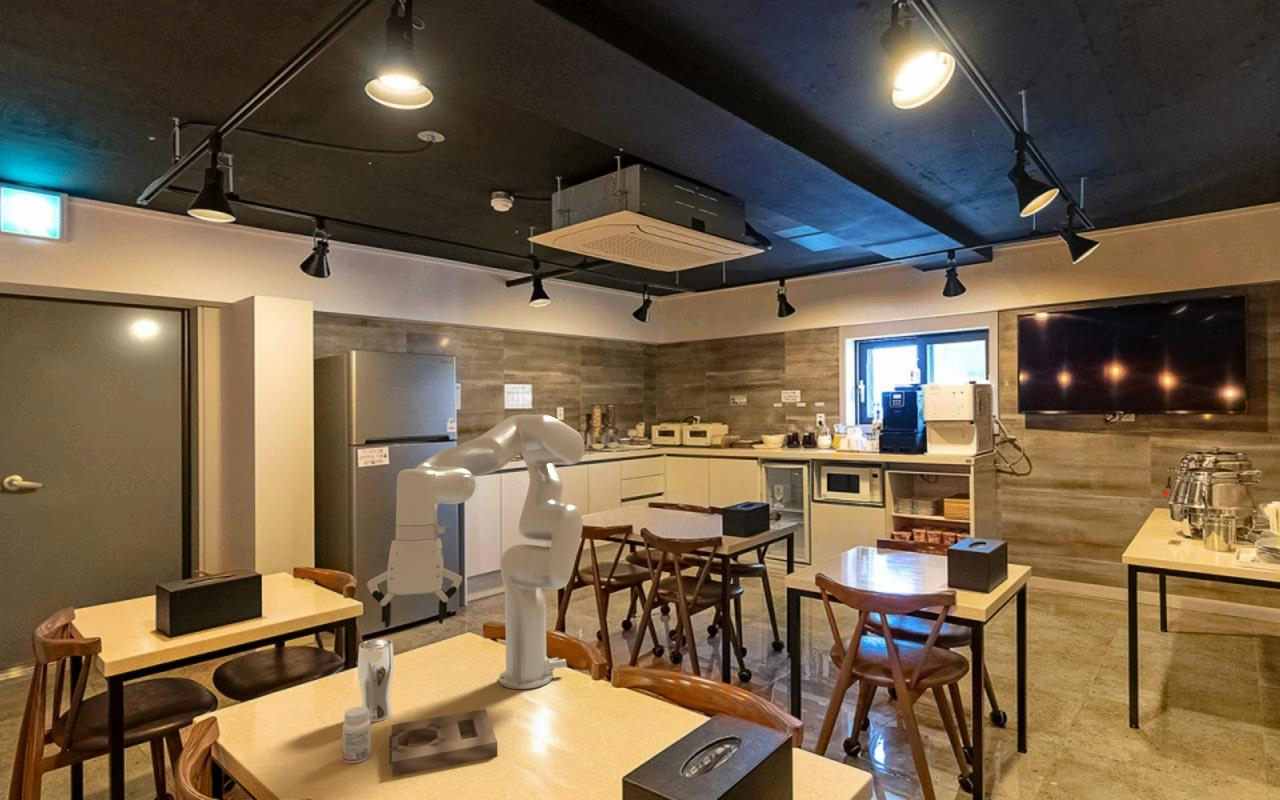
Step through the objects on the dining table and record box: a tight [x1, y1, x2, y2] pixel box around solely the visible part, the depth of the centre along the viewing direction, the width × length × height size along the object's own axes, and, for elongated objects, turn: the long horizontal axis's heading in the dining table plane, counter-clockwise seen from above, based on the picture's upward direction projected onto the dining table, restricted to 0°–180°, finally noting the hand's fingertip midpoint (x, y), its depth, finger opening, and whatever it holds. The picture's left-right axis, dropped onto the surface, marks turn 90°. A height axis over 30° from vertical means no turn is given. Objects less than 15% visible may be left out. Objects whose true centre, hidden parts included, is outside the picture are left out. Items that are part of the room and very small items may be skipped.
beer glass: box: [357, 638, 395, 723], centre depth 137 cm, size 7×7×15 cm
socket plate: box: [388, 708, 498, 777], centre depth 123 cm, size 18×15×2 cm
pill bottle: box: [342, 706, 372, 764], centre depth 119 cm, size 5×5×8 cm
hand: (414, 623), depth 124 cm, fingers open, 9 cm apart
